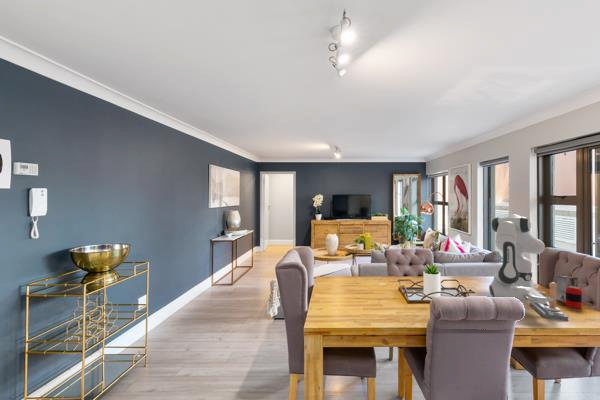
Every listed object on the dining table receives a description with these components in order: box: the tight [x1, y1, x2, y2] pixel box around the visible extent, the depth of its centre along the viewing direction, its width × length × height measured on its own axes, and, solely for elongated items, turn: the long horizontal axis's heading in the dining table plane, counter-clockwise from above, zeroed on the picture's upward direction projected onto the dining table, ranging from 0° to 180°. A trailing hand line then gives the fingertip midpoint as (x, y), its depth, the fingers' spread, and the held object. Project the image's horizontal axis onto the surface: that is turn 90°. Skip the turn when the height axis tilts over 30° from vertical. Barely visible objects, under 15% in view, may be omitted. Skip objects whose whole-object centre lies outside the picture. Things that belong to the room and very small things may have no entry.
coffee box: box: [556, 275, 579, 303], centre depth 206 cm, size 9×6×16 cm
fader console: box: [529, 301, 569, 321], centre depth 185 cm, size 22×11×4 cm, turn 161°
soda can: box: [564, 286, 583, 309], centre depth 196 cm, size 8×8×12 cm
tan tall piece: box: [544, 281, 562, 312], centre depth 179 cm, size 5×6×17 cm
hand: (549, 296), depth 180 cm, fingers open, 8 cm apart
